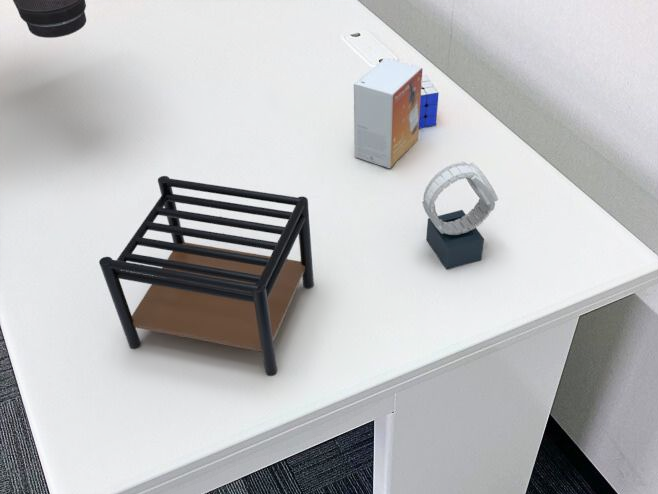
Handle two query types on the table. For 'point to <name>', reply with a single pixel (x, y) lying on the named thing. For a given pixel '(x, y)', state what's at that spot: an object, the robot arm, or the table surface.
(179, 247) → the slatted rack
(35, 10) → the camera lens
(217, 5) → the table surface
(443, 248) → the watch
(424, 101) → the rubik's cube
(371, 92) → the small box
